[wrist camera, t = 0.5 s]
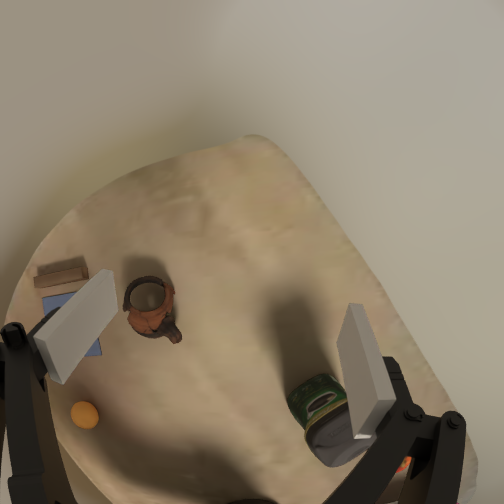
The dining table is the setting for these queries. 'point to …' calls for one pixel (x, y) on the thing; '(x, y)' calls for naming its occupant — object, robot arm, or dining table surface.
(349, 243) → the dining table surface
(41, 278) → the stopper strip
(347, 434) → the coffee jar
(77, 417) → the ball
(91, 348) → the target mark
